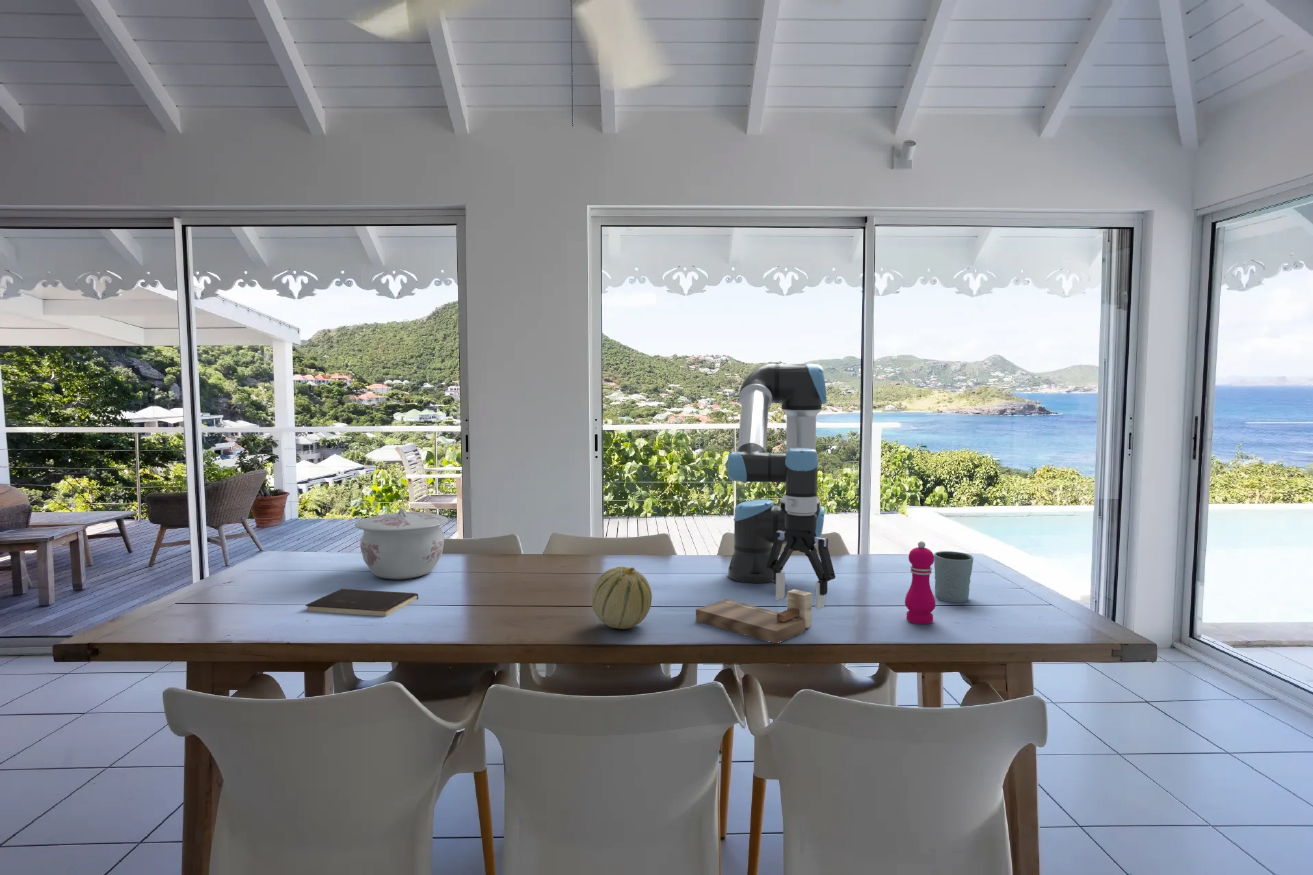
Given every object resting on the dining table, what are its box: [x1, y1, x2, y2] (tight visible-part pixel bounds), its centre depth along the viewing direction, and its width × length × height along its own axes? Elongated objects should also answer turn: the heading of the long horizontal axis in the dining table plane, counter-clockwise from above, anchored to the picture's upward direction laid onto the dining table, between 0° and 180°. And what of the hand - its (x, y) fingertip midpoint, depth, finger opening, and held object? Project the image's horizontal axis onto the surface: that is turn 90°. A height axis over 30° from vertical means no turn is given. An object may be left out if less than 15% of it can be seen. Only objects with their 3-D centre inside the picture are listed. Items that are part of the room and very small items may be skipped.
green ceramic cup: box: [933, 550, 974, 603], centre depth 205 cm, size 10×10×12 cm
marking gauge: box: [777, 588, 813, 629], centre depth 179 cm, size 5×11×8 cm, turn 136°
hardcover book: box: [305, 588, 419, 617], centre depth 199 cm, size 16×23×2 cm
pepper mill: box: [904, 540, 936, 625], centre depth 186 cm, size 7×7×20 cm
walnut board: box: [695, 598, 806, 644], centre depth 182 cm, size 24×12×3 cm, turn 46°
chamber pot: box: [354, 508, 450, 581], centre depth 230 cm, size 28×28×21 cm
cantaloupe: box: [591, 566, 653, 630], centre depth 181 cm, size 15×15×15 cm
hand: (799, 602), depth 181 cm, fingers open, 10 cm apart
